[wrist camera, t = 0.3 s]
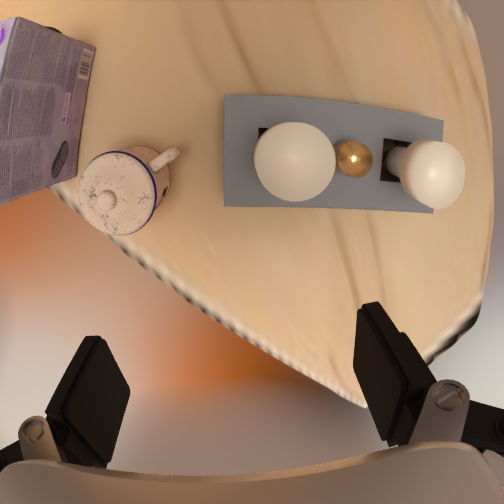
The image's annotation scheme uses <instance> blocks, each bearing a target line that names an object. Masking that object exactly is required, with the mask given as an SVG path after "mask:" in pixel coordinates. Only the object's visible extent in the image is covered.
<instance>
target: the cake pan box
mask: <svg viewBox="0 0 504 504" xmlns="http://www.w3.org/2000/svg"><path fill="white" fill-rule="evenodd" d="M95 51H96V48H95V47H93V46H90V45H88V44H86V43H84V42H82V41H79V40H75V39H73V38H70V37H68V36H65V35H63V34H62V33H61V32H60V31H59V30H57V29H55V28H52V27H46V26H42V25H40V24H37V23H35V22H32V21H30V20H27V19H25V18H22V17H12V18H9V19H6V20H3V21H0V206H1V205H3V204H6V203H8V202H10V201H12V200H14V199H17V198H19V197H22V196H24V195H27V194H30V193H33V192H35V191H38V190H41V189H43V188H46V187H48V186H51V185H54V184H56V183H59V182H62V181H65V180H68V179H71V178H73V177H75V176H76V173H77V168H76V164H77V153H78V145H79V138H80V130H81V127H82V123H83V116H84V110H85V103H86V97H87V96H86V92H87V88H88V82H89V77H90V72H91V67H92V63H93V58H94V55H95Z"/></svg>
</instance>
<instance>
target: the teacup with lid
mask: <svg viewBox="0 0 504 504" xmlns="http://www.w3.org/2000/svg"><path fill="white" fill-rule="evenodd" d="M179 155H180V151H179V149H178V148H177V147H171V148H170V149H168V150H166V151H165V152H163V153H162V154H160V155H159V154H158V153H157V152H156V151H154V150H152V149H150V148H147V147H141V146H136V147H130V148H127V149H124V150H120V151H110V152H106V153H103V154H101V155H99V156H97V157H96V158H94V159H93V160H92V161H91V162H90V163H89V164H88V165H87V167H86V168H85V170H84V172H83V173H82V176H81V178H80V182H79V187H78V198H79V203H80V207H81V209H82V212H83V214H84V216H85V217H86V219H87V220H88V221H89V222H90V223H91V224H92V225H93V226H94V227H95V228H97V229H98V230H100V231H102V232H104V233H106V234H110V235H116V236H121V235H128V234H131V233H134V232H136V231H138V230H139V229H141V228H142V227H143V226H144V225H145V224H146V223H147V222H148V221H149V220H150V218H151V216H152V214H153V212H154V211H155V209H156V208H157V207H158V206H159V205H160V204H161V202H162V201H163V200H164V199H165V197H166V195H167V193H168V191H169V187H170V172H169V168H168V166H167V164H168V163H170V162H171V161H173V160H174V159H176V158H177V157H178V156H179Z"/></svg>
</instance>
